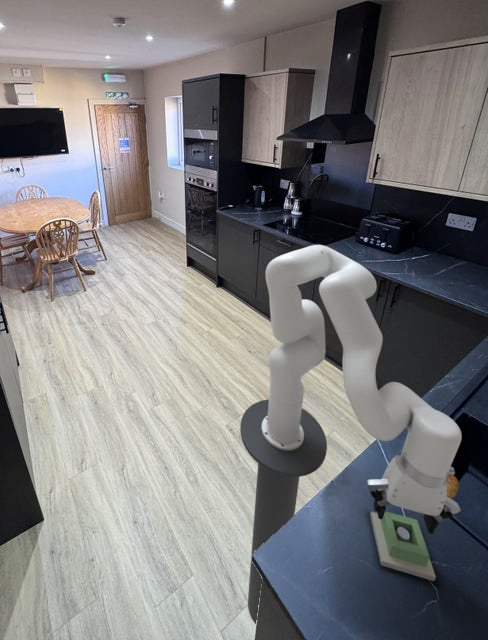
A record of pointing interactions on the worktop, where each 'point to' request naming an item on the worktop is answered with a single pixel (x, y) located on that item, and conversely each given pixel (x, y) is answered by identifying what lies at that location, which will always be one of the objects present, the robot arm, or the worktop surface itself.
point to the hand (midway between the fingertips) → (402, 518)
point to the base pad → (395, 562)
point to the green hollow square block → (402, 549)
